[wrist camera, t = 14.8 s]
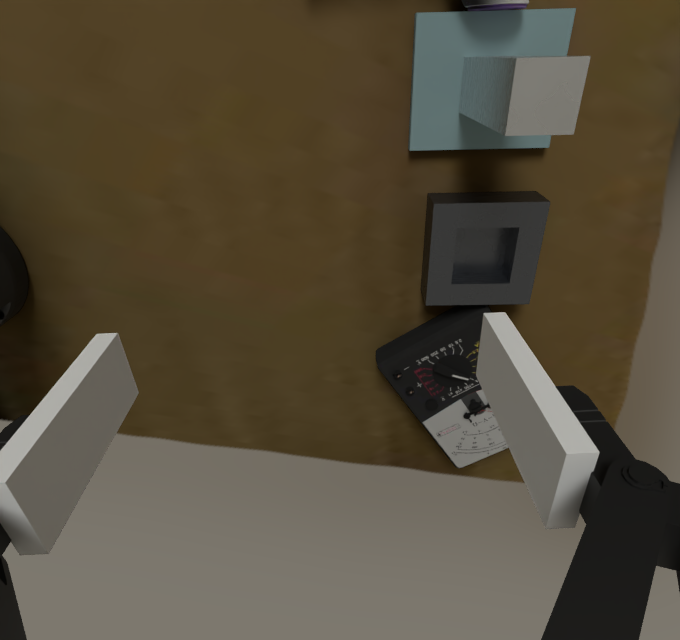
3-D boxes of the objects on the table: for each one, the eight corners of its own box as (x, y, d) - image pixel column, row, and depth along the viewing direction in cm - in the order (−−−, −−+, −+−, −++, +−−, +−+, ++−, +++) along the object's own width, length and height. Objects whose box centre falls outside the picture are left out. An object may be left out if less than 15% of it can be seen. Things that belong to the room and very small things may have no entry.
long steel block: (458, 112, 38) (505, 135, 27) (464, 56, 36) (516, 57, 25) (506, 110, 38) (573, 134, 27) (515, 55, 36) (590, 56, 25)
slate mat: (408, 148, 41) (409, 150, 40) (414, 13, 36) (416, 12, 35) (544, 145, 41) (548, 147, 40) (570, 9, 36) (575, 8, 35)
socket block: (420, 289, 48) (425, 305, 45) (427, 193, 43) (433, 203, 40) (517, 288, 48) (529, 304, 44) (535, 191, 43) (550, 201, 39)
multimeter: (479, 290, 48) (491, 313, 44) (548, 407, 56) (565, 436, 52) (373, 347, 52) (375, 374, 48) (451, 450, 60) (460, 480, 56)
